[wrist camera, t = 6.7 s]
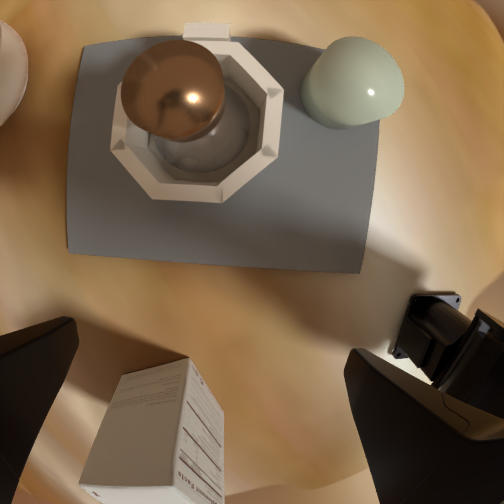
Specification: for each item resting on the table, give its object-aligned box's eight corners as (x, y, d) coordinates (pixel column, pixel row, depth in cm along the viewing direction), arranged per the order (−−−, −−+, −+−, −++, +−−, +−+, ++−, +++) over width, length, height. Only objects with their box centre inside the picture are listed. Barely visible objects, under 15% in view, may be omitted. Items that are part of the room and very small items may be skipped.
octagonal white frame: (275, 57, 17) (289, 26, 12) (262, 197, 19) (273, 207, 14) (152, 53, 16) (130, 23, 11) (137, 190, 18) (107, 197, 14)
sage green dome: (369, 72, 17) (403, 51, 12) (366, 135, 18) (403, 129, 14) (302, 57, 17) (322, 27, 12) (297, 123, 18) (318, 109, 13)
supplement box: (159, 424, 25) (138, 528, 13) (120, 372, 23) (73, 483, 11) (226, 411, 25) (227, 528, 13) (192, 354, 23) (170, 488, 11)
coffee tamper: (254, 85, 16) (274, 13, 7) (245, 176, 17) (258, 183, 9) (160, 82, 15) (102, 17, 6) (151, 171, 17) (77, 177, 8)
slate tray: (377, 66, 17) (380, 64, 17) (356, 271, 22) (359, 273, 21) (87, 48, 16) (84, 46, 15) (72, 250, 20) (68, 253, 19)
